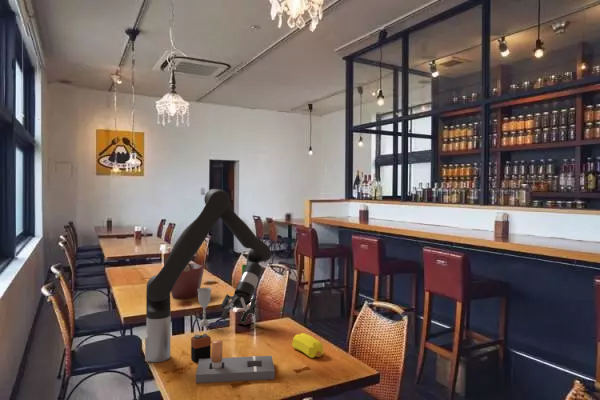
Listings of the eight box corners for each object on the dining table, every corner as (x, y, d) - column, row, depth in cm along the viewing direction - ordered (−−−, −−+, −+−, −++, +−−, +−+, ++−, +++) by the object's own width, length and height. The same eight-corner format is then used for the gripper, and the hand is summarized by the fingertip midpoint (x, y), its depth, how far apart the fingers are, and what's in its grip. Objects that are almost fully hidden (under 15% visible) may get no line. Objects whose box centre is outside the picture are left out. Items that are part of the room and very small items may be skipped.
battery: (190, 359, 171) (190, 334, 171) (206, 355, 175) (206, 331, 175) (194, 363, 167) (195, 338, 167) (211, 359, 171) (211, 334, 171)
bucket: (196, 301, 257) (196, 260, 256) (160, 300, 257) (160, 259, 257) (206, 291, 281) (206, 253, 281) (173, 290, 282) (173, 253, 281)
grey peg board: (195, 383, 150) (195, 374, 150) (199, 366, 164) (199, 358, 164) (274, 379, 154) (274, 370, 154) (271, 363, 168) (271, 355, 168)
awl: (211, 376, 156) (211, 343, 156) (211, 371, 160) (211, 340, 160) (222, 375, 157) (222, 343, 156) (222, 371, 161) (222, 339, 160)
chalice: (213, 323, 216) (214, 288, 215) (207, 327, 209) (207, 291, 209) (201, 322, 218) (201, 287, 217) (194, 326, 211) (194, 290, 211)
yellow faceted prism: (302, 343, 190) (288, 347, 186) (303, 329, 190) (288, 332, 186) (327, 357, 175) (312, 361, 171) (327, 341, 175) (312, 345, 171)
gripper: (228, 279, 179) (213, 313, 168) (259, 282, 173) (245, 318, 163) (235, 288, 184) (220, 322, 173) (264, 292, 178) (251, 327, 168)
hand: (232, 320), depth 168 cm, fingers open, 8 cm apart
